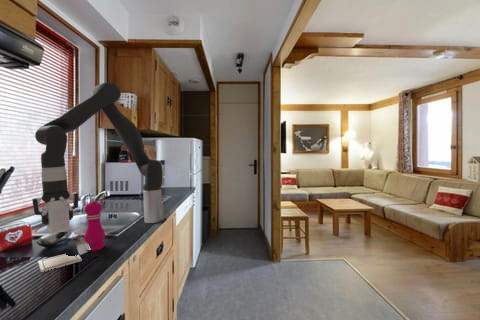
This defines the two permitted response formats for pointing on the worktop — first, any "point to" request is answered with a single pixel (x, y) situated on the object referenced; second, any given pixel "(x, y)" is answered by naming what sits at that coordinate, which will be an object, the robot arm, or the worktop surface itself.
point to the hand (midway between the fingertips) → (58, 222)
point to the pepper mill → (94, 226)
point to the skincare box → (57, 217)
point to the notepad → (57, 262)
